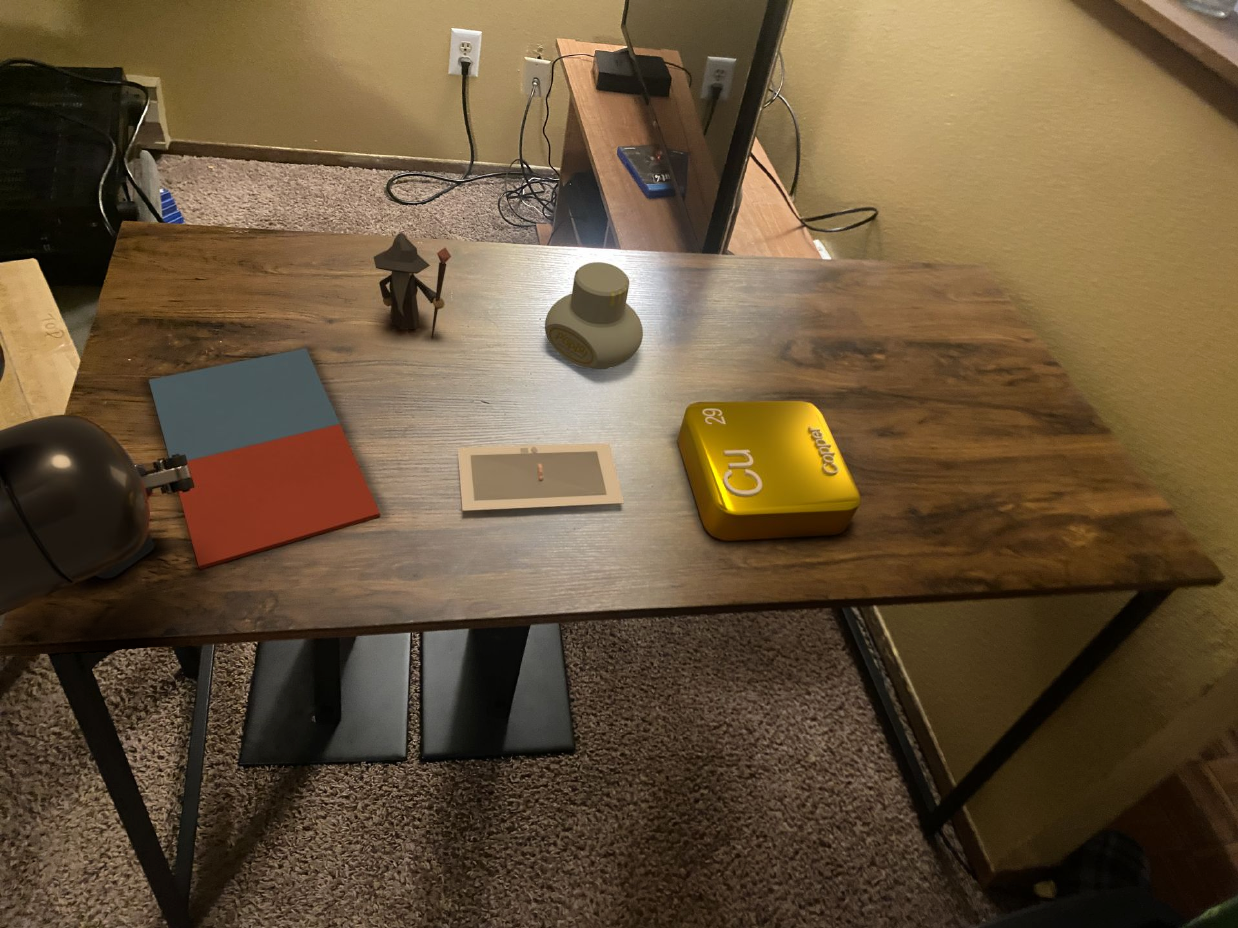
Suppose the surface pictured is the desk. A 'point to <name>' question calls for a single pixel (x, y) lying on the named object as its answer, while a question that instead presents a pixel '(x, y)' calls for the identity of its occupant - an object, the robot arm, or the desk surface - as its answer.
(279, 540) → the sorting mat
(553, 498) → the touchpad
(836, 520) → the element tile
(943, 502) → the desk surface
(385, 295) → the wizard figurine
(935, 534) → the desk surface
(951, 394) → the desk surface
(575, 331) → the air freshener
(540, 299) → the desk surface
